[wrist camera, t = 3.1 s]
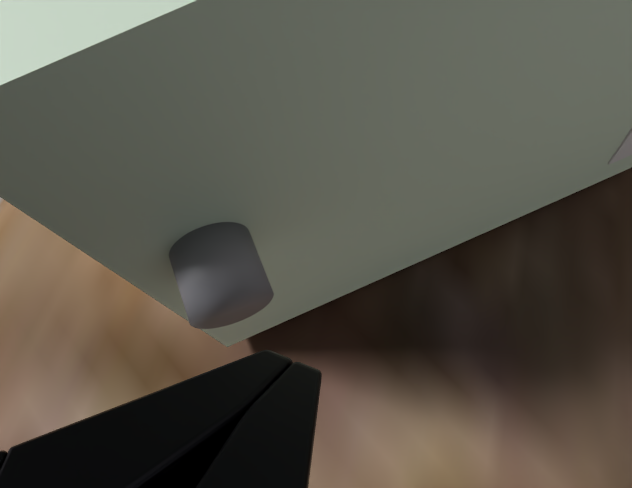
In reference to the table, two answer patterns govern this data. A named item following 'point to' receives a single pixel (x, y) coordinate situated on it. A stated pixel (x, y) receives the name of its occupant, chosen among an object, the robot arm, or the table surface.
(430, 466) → the table surface
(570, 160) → the door
